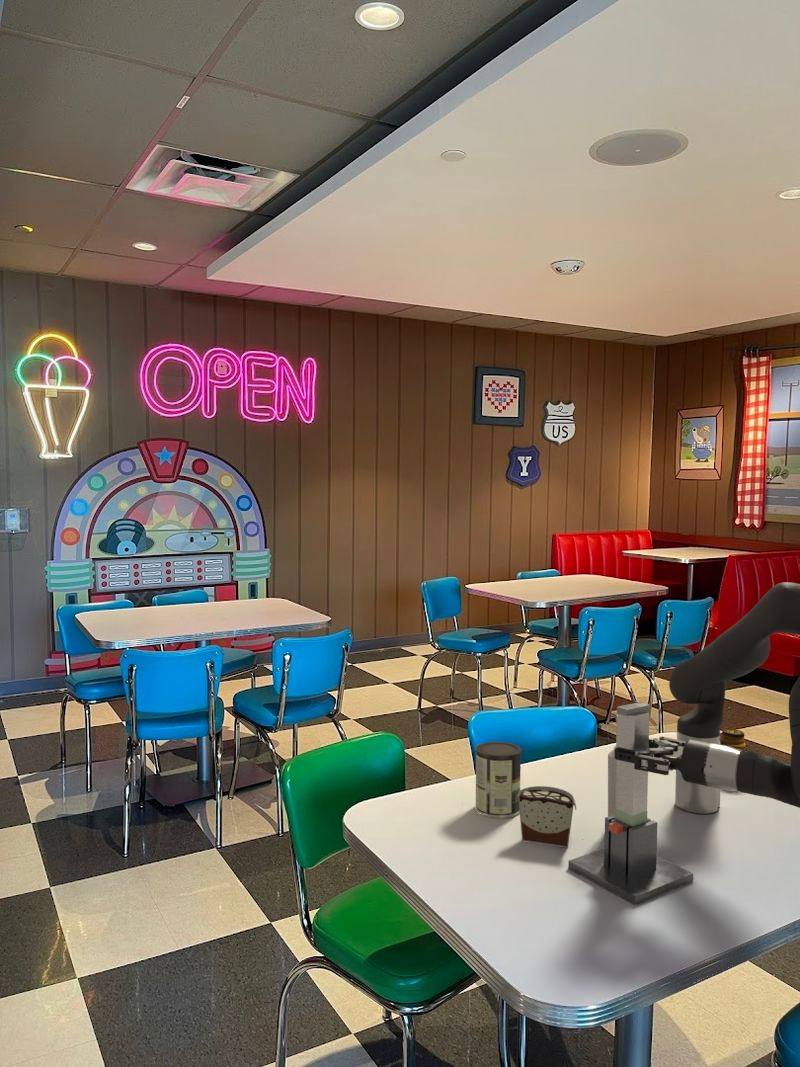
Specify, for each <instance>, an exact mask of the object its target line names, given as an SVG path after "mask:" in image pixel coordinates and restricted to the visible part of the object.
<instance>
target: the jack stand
mask: <svg viewBox="0 0 800 1067" xmlns="http://www.w3.org/2000/svg"><path fill="white" fill-rule="evenodd" d="M603 846H604V847H603V848H602V849H598V850H596V851H593V852H590V853H586V854H584V855H581V856H579V857H575V858H572V859H569V860H568V866H567V867H568V870H571V871H572V872H574V873H576V874H578V875H579V876H581V877H583V878H585V879H587V880H589V881H590V882H592V883H594V884H596V885H598V886H600V887H602V888H604V889H605V890H606V891H609V892H611V893H613V895H614V894H615V895H616V896H618V897H620V898H622V899H623V900H625V901H627V902H629V903H630V904H633V905H634V906H636V905H638V904H641V903H643V902H645V901H649V900H650V899H653V898H655V897H657V896H660V894H661V895H663V894H665V893H667V892H670V891H672V889H673V890H675V889H678V888H680V887H682V886H684V884H685V885H687V884H689V882H690V883H692V882H694V872H692V871H689V870H688V869H685V868H684V867H681V866H679V865H677V864H675V863H673V862H671V861H668V860H666V859H664V858H662V857H661V856H658V852H657V850H658V821H655V820H651V819H650V818H648V817H647V823H644V824H641V825H638V826H634V827H631V828H630V826H629V825H627V824H624V823H622V822H620V821H618V820H616V819H615V815H612V816H608V815H607V816H606V817H604V845H603ZM691 881H692V882H691ZM686 883H687V884H686ZM681 885H682V886H681ZM679 886H680V887H679ZM669 890H670V891H669Z"/></svg>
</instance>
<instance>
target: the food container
mask: <svg viewBox="0 0 800 1067" xmlns="http://www.w3.org/2000/svg"><path fill="white" fill-rule="evenodd" d="M518 800H519V812H520V813H519V820H520V821H519V822H520V823H519V824H520V832H521V842H526V843H533V844H540V845H541V844H542V845H545V846H546V845H547V846H553V847H559V848H569V843H570V835H571V828H572V818H573V813H574V812H573V811H574V809H575V811H577V805H576V801H575V798H574V795H573V794H572V793H571V792H569V791H566V790H564V789H561V788H558V787H554V786H547V785H545V786H544V785H538V786H537V785H536V786H535V785H534V786H527V787H525V788H522V789H520V791H519V792H518V795H517V797H516V802H517V801H518Z"/></svg>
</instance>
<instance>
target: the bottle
mask: <svg viewBox="0 0 800 1067" xmlns="http://www.w3.org/2000/svg"><path fill="white" fill-rule="evenodd" d="M615 722H616V723H615V724H616V733H615V734H616V735H615V737H616V738H615V746H614V747H613V749H612V750H611V751H609V752H608V754H607V817H608V816H612V815H615V808H616V774H617V760H616V759H615V748H617V730H618V714H616V720H615Z"/></svg>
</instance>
